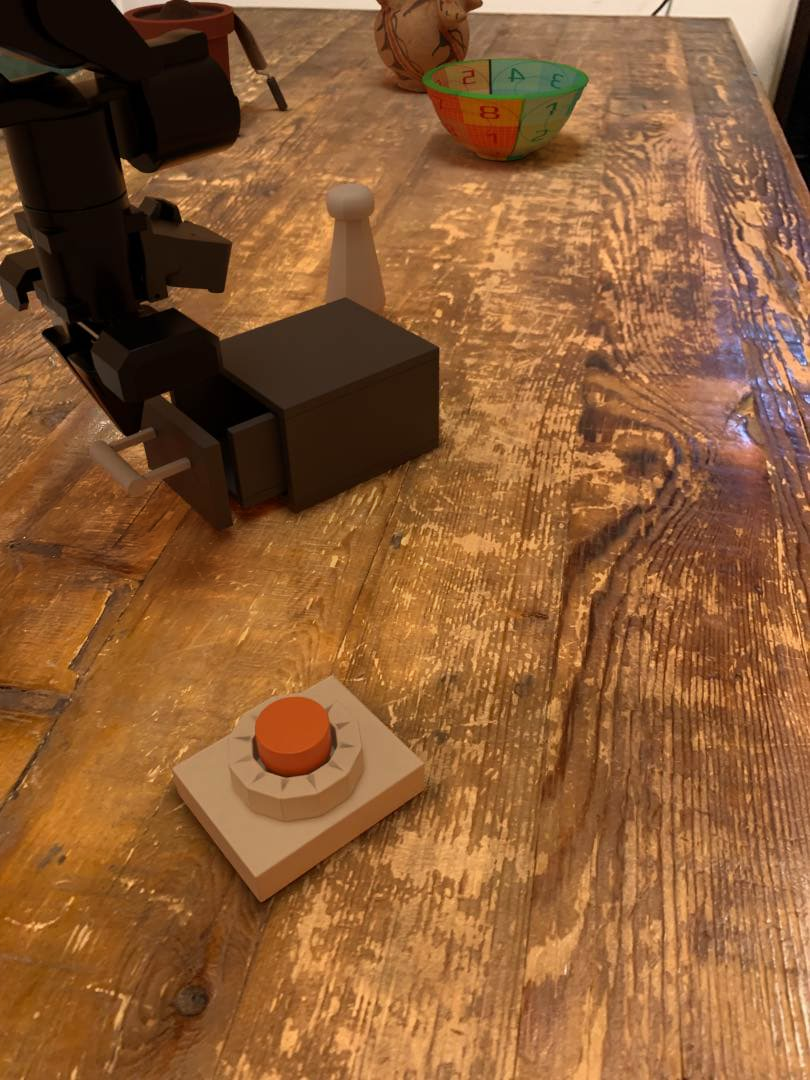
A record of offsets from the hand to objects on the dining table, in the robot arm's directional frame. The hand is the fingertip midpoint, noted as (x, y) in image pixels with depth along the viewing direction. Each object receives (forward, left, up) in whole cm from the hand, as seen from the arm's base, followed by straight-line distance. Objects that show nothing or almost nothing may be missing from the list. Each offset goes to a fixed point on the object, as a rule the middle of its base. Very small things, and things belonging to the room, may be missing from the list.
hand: (130, 432), depth 62 cm
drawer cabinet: (+15, 0, -8) cm, 17 cm away
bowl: (+78, +46, -8) cm, 91 cm away
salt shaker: (+30, +16, -8) cm, 35 cm away
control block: (-5, -26, -8) cm, 27 cm away
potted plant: (+55, +86, -8) cm, 102 cm away
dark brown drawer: (+6, 0, -7) cm, 9 cm away
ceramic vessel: (+95, +82, -8) cm, 126 cm away
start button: (-5, -26, -4) cm, 27 cm away
